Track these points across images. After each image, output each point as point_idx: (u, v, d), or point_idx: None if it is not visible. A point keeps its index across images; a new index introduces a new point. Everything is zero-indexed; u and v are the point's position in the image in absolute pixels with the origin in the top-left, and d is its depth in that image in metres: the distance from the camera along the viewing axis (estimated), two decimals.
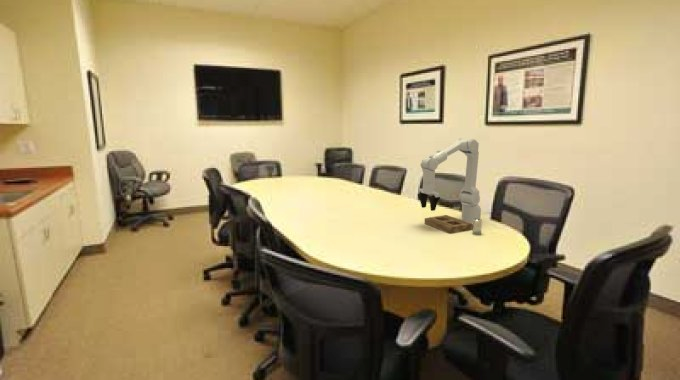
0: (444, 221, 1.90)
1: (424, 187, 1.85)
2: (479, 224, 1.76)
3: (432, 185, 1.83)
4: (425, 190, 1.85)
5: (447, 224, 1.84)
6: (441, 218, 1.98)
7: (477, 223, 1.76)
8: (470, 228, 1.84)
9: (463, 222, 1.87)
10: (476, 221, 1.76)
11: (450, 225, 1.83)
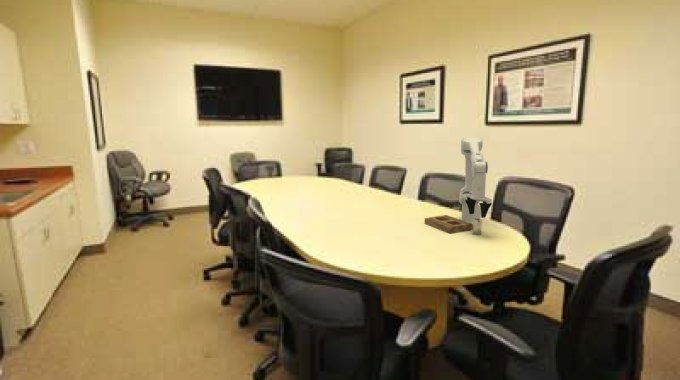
0: (444, 221, 1.90)
1: (474, 192, 1.73)
2: (479, 224, 1.76)
3: (482, 191, 1.72)
4: (475, 196, 1.73)
5: (447, 224, 1.84)
6: (441, 218, 1.98)
7: (477, 223, 1.76)
8: (470, 228, 1.84)
9: (463, 222, 1.87)
10: (476, 221, 1.76)
11: (450, 225, 1.83)
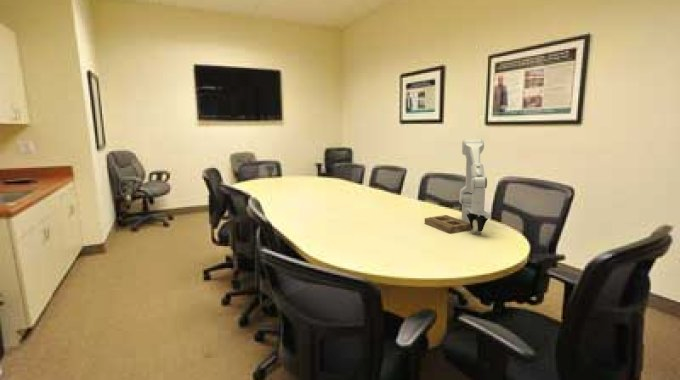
0: (444, 221, 1.90)
1: (473, 207, 1.75)
2: None
3: (482, 205, 1.73)
4: (474, 210, 1.74)
5: (447, 224, 1.84)
6: (441, 218, 1.98)
7: (477, 223, 1.76)
8: (470, 228, 1.84)
9: (463, 222, 1.87)
10: (476, 221, 1.76)
11: (450, 225, 1.83)
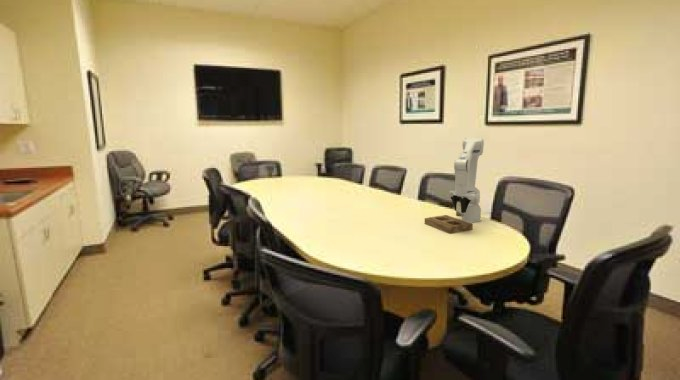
0: (444, 221, 1.90)
1: (457, 189, 1.80)
2: None
3: (465, 187, 1.78)
4: (458, 192, 1.80)
5: (447, 224, 1.84)
6: (441, 218, 1.98)
7: (460, 205, 1.81)
8: (470, 228, 1.84)
9: (463, 222, 1.87)
10: (459, 203, 1.81)
11: (450, 225, 1.83)
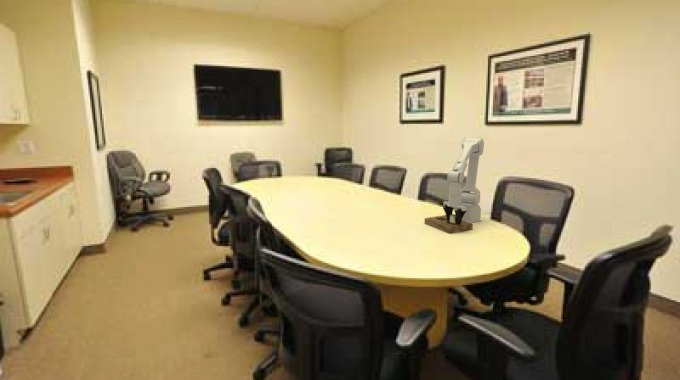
0: (444, 221, 1.90)
1: (450, 200, 1.83)
2: (455, 219, 1.85)
3: (458, 199, 1.82)
4: (451, 203, 1.83)
5: (447, 224, 1.84)
6: (441, 218, 1.98)
7: (454, 218, 1.84)
8: (470, 228, 1.84)
9: (463, 222, 1.87)
10: (453, 217, 1.85)
11: (450, 225, 1.83)
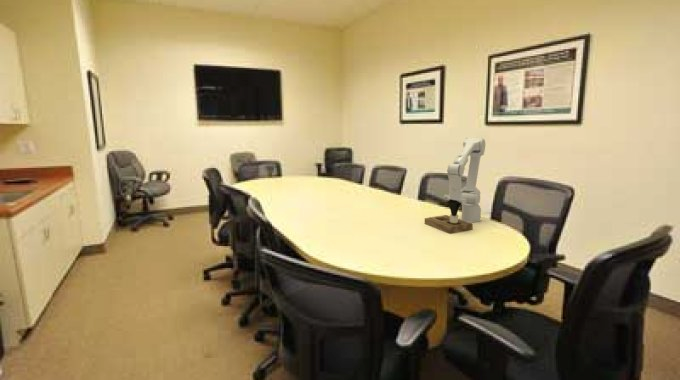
0: (444, 221, 1.90)
1: (450, 193, 1.83)
2: (455, 220, 1.85)
3: (458, 191, 1.81)
4: (451, 196, 1.82)
5: (447, 224, 1.84)
6: (441, 218, 1.98)
7: (454, 219, 1.84)
8: (470, 228, 1.84)
9: (463, 222, 1.87)
10: (453, 217, 1.85)
11: (450, 225, 1.83)
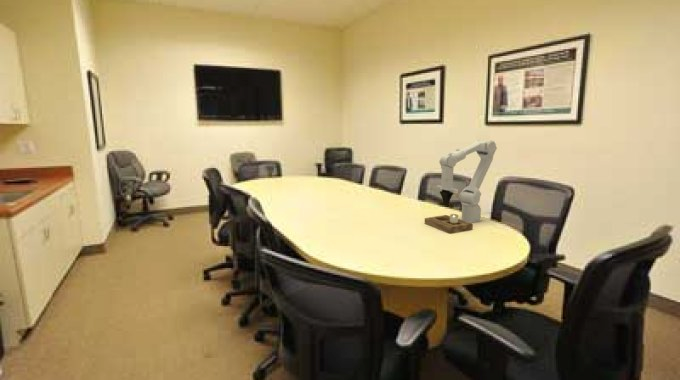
0: (444, 221, 1.90)
1: (443, 183, 1.90)
2: (455, 219, 1.85)
3: (450, 182, 1.89)
4: (444, 186, 1.90)
5: (447, 224, 1.84)
6: (441, 218, 1.98)
7: (454, 218, 1.84)
8: (470, 228, 1.84)
9: (463, 222, 1.87)
10: (453, 217, 1.85)
11: (450, 225, 1.83)
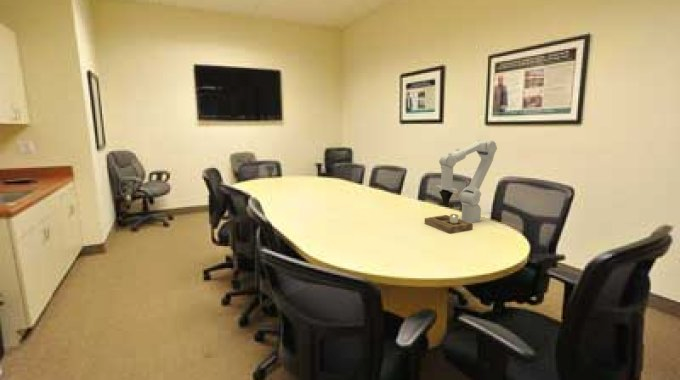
0: (444, 221, 1.90)
1: (442, 183, 1.90)
2: (455, 219, 1.85)
3: (450, 182, 1.89)
4: (443, 186, 1.90)
5: (447, 224, 1.84)
6: (441, 218, 1.98)
7: (453, 218, 1.84)
8: (470, 228, 1.84)
9: (463, 222, 1.87)
10: (453, 217, 1.85)
11: (450, 225, 1.83)
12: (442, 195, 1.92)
